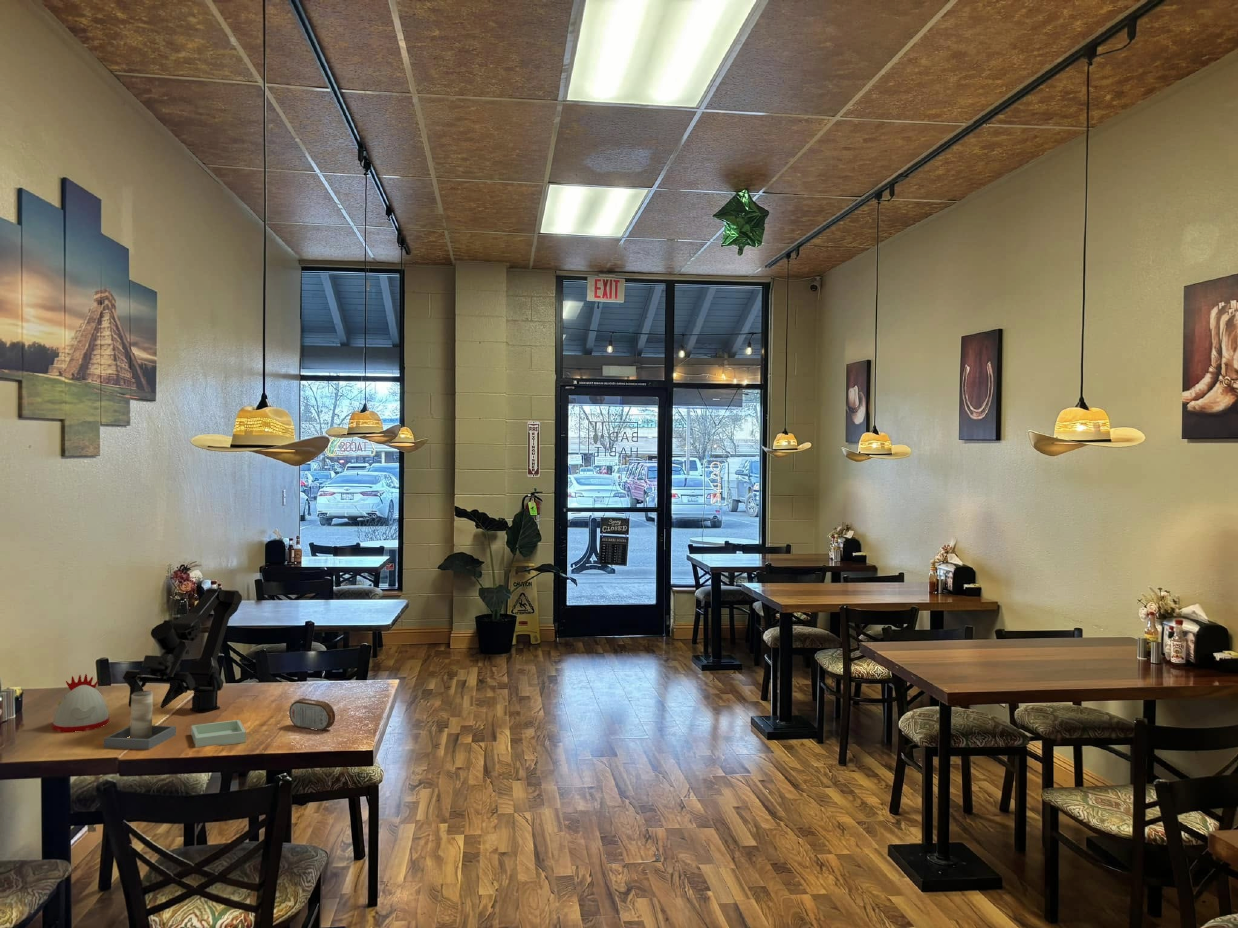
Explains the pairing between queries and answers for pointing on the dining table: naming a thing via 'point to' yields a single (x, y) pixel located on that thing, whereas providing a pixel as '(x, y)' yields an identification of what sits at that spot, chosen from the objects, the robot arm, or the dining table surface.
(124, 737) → the charcoal bin
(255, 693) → the dining table surface
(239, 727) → the sage bin
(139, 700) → the beige cylinder
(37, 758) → the dining table surface
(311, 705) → the tin
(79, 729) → the grey and red dome
